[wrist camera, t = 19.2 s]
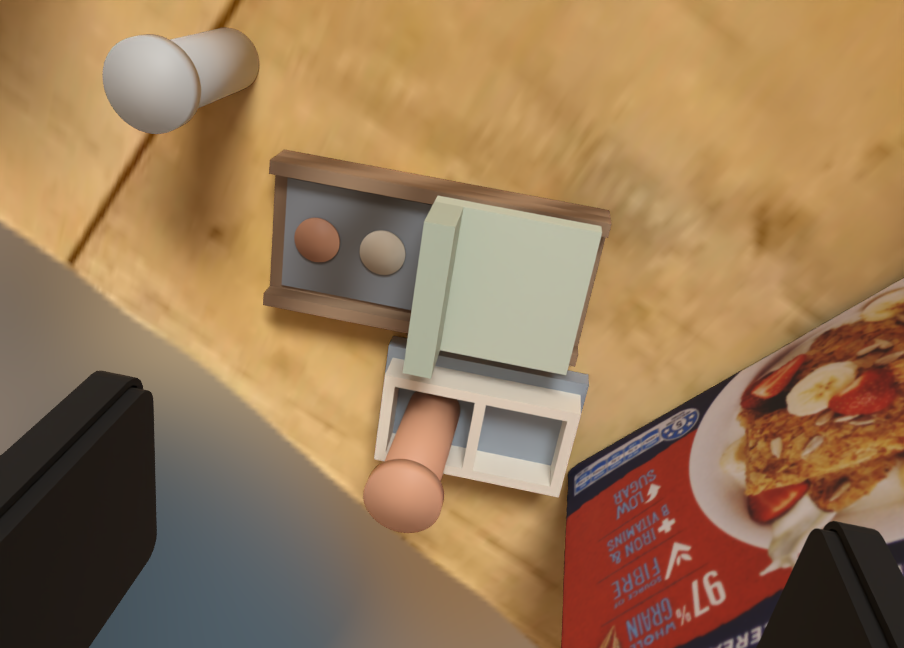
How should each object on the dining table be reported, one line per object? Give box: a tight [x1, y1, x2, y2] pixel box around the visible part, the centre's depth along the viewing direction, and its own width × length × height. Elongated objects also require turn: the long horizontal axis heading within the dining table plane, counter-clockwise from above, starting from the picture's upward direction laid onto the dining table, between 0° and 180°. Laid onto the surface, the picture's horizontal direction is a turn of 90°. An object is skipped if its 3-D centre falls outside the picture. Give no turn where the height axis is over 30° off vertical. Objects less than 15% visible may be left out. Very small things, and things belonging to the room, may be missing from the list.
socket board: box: [374, 336, 589, 497], centre depth 44 cm, size 11×7×3 cm, turn 81°
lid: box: [403, 196, 602, 379], centre depth 38 cm, size 8×8×4 cm
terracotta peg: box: [363, 391, 461, 533], centre depth 41 cm, size 4×4×8 cm
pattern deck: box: [263, 150, 611, 367], centre depth 41 cm, size 17×8×2 cm, turn 81°
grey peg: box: [103, 28, 259, 134], centre depth 35 cm, size 4×4×8 cm
